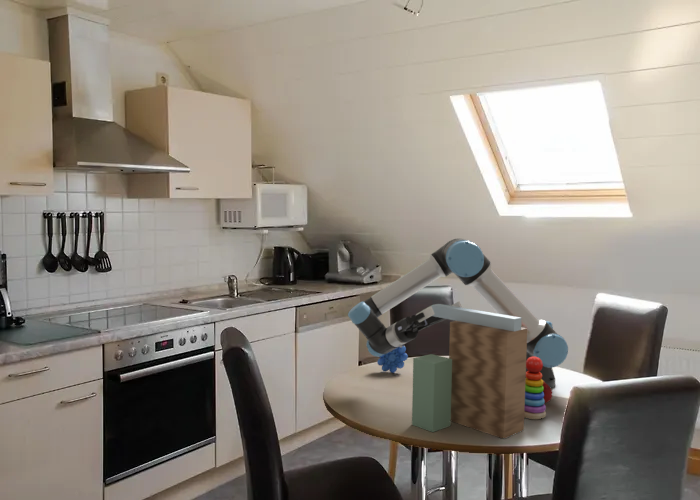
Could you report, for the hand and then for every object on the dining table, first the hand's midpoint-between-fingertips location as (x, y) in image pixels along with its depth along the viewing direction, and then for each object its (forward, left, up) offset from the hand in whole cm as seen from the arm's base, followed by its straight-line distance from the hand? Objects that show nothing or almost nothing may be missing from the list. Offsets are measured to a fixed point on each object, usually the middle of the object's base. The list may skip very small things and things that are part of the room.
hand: (446, 307), depth 199 cm
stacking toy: (-27, +4, -33) cm, 43 cm away
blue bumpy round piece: (+11, -46, -33) cm, 58 cm away
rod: (-7, +8, -3) cm, 11 cm away
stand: (-10, +12, -33) cm, 36 cm away
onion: (-34, -7, -33) cm, 48 cm away
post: (+6, +12, -33) cm, 36 cm away
